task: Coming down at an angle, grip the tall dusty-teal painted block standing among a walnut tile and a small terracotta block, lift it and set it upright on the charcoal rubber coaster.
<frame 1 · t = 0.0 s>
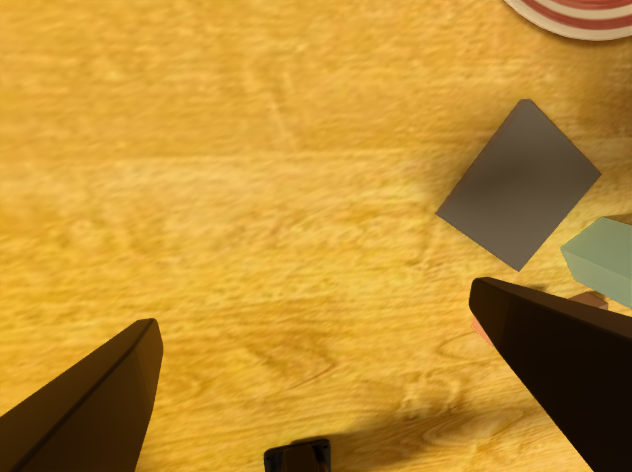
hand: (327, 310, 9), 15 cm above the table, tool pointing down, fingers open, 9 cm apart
coaster: (515, 192, 26), on the table
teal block: (587, 249, 30), on the table
walnut tile: (551, 328, 33), on the table
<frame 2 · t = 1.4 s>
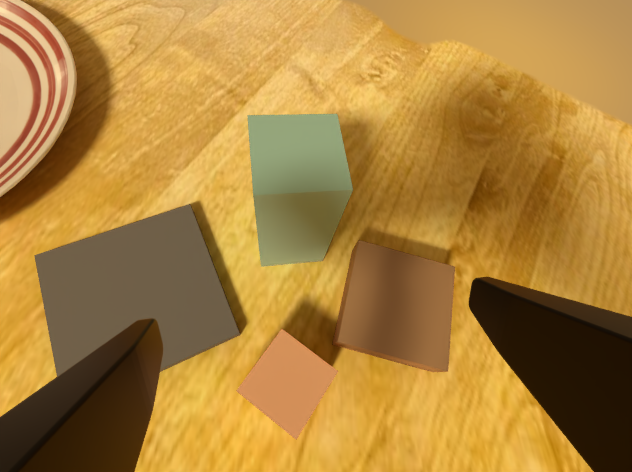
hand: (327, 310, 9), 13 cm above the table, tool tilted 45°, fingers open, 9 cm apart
terracotta block: (288, 380, 18), point 3 cm above the table, tilted 180°
coaster: (140, 296, 21), on the table
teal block: (289, 235, 24), on the table
walnut tile: (388, 308, 23), on the table
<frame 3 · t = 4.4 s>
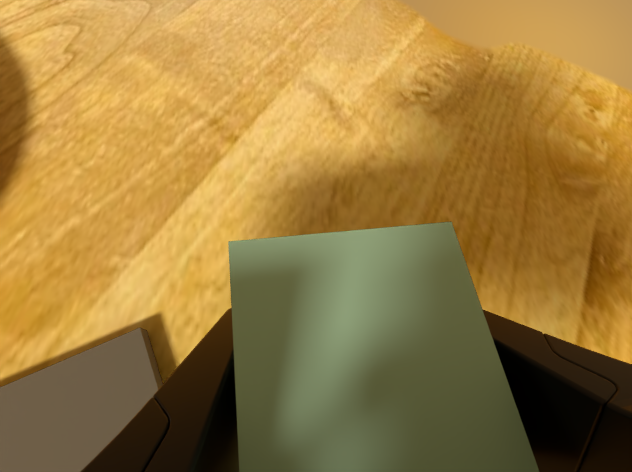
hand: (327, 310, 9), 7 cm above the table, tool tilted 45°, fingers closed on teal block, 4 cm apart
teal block: (310, 370, 14), on the table, touching gripper
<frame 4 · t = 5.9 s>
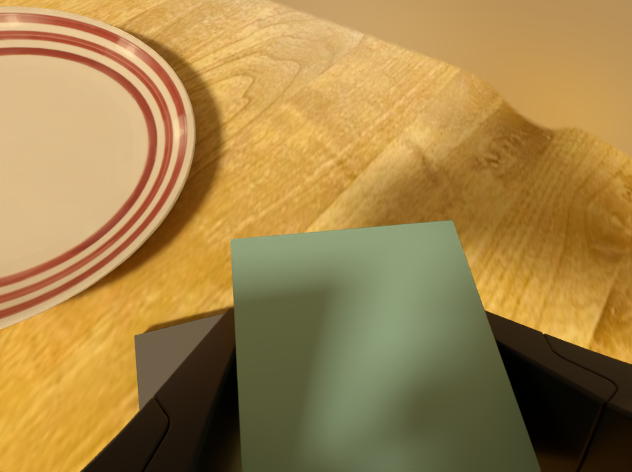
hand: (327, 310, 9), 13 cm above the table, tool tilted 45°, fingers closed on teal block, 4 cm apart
dinner plate: (14, 163, 24), on the table
coaster: (234, 398, 20), on the table
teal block: (311, 369, 15), point 7 cm above the table, touching gripper
when the fingers open (8 cm above the table, at t = 7.4 s): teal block drops 1 cm, resting on coaster.
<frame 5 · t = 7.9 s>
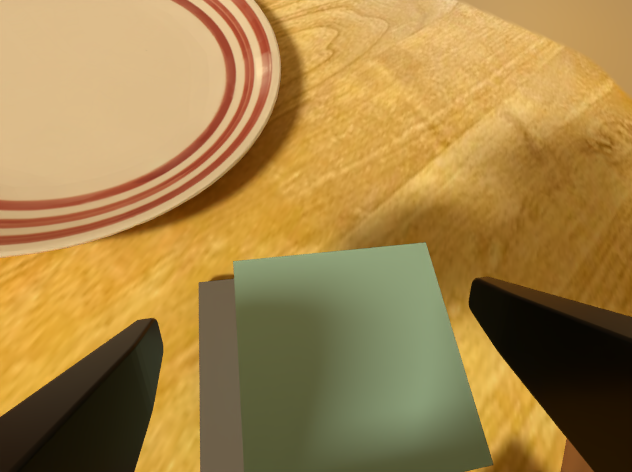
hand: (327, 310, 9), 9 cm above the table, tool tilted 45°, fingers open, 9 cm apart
dinner plate: (81, 88, 22), on the table
coaster: (306, 371, 16), on the table
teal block: (306, 370, 16), point 1 cm above the table, touching coaster
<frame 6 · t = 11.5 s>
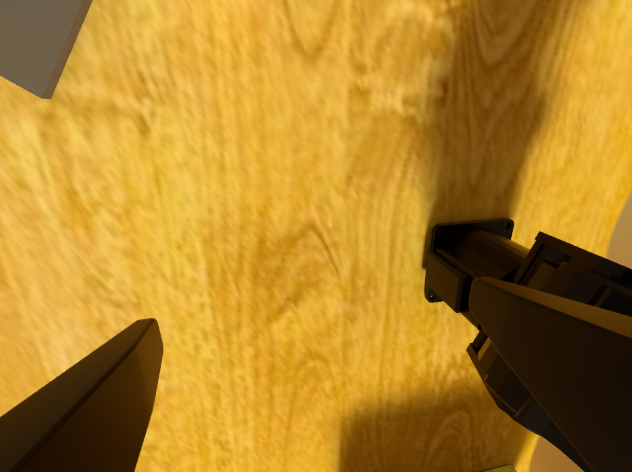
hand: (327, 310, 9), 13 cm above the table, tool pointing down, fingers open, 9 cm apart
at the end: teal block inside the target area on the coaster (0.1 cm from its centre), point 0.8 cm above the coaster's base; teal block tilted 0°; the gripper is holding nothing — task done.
